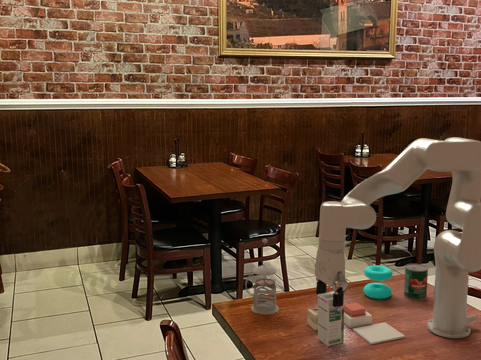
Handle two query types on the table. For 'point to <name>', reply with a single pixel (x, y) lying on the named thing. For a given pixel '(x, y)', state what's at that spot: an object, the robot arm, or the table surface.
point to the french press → (262, 303)
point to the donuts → (378, 288)
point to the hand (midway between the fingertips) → (329, 299)
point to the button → (354, 309)
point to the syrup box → (330, 320)
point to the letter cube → (312, 318)
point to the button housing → (357, 320)
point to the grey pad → (378, 333)
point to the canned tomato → (415, 281)
